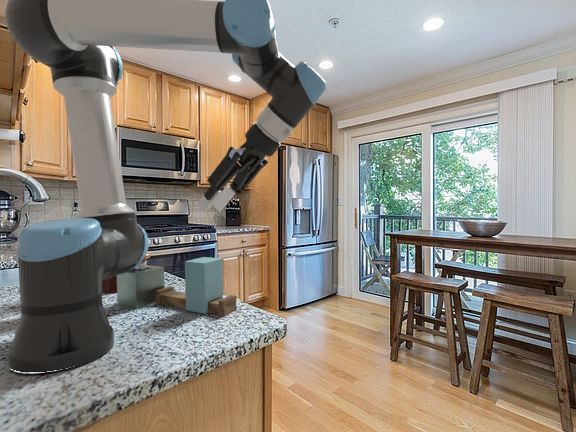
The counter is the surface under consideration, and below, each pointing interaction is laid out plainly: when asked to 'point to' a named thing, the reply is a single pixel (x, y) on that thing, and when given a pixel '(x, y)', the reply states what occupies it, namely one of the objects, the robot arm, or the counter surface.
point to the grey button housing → (139, 287)
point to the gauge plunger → (143, 264)
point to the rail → (179, 300)
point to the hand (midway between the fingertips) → (209, 208)
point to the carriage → (203, 283)
